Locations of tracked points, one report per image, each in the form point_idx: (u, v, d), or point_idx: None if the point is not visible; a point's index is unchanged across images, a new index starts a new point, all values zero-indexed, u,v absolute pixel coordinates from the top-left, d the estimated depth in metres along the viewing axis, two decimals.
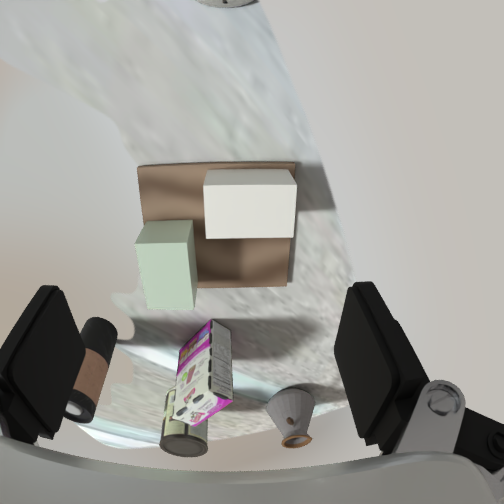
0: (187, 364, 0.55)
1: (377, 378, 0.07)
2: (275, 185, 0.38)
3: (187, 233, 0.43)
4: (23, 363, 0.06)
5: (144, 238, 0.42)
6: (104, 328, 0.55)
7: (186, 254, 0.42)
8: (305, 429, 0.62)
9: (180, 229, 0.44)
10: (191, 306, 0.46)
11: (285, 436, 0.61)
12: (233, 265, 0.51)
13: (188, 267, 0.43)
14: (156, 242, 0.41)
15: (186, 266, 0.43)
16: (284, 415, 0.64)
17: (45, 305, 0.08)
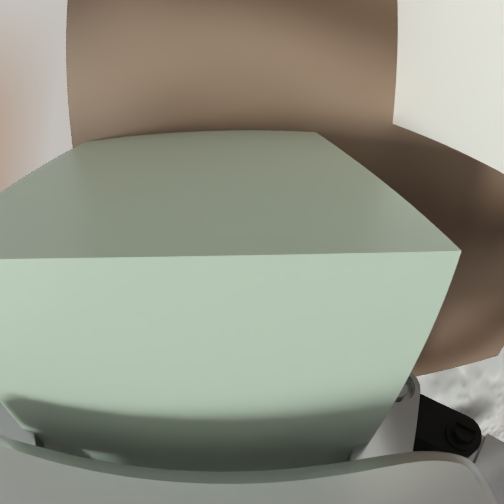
0: None
1: None
2: None
3: (363, 174, 0.05)
4: None
5: (6, 211, 0.04)
6: None
7: (405, 363, 0.04)
8: None
9: (289, 155, 0.06)
10: None
11: None
12: None
13: (368, 431, 0.05)
14: (75, 246, 0.03)
15: (360, 431, 0.05)
16: None
17: None
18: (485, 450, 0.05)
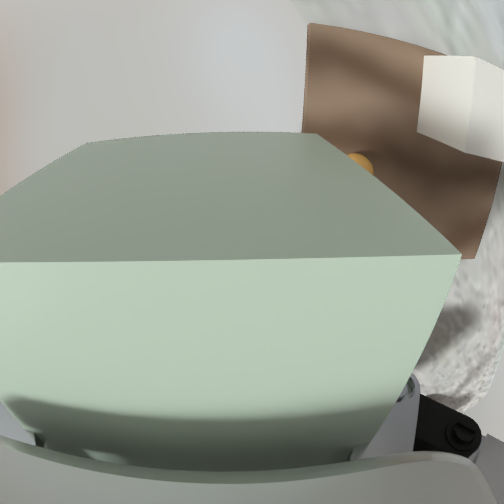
0: None
1: None
2: None
3: (364, 177, 0.05)
4: None
5: (8, 213, 0.04)
6: None
7: (405, 364, 0.04)
8: None
9: (290, 157, 0.06)
10: None
11: None
12: None
13: (369, 432, 0.05)
14: (79, 249, 0.03)
15: (361, 432, 0.05)
16: None
17: None
18: (485, 450, 0.05)
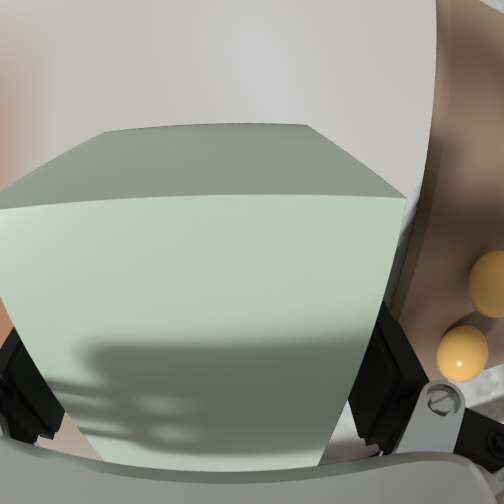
0: None
1: (377, 378, 0.07)
2: None
3: (340, 154, 0.06)
4: (23, 363, 0.06)
5: (50, 178, 0.05)
6: None
7: (373, 296, 0.05)
8: None
9: (281, 141, 0.07)
10: None
11: None
12: None
13: (351, 371, 0.06)
14: (120, 193, 0.04)
15: (343, 369, 0.06)
16: None
17: None
18: None
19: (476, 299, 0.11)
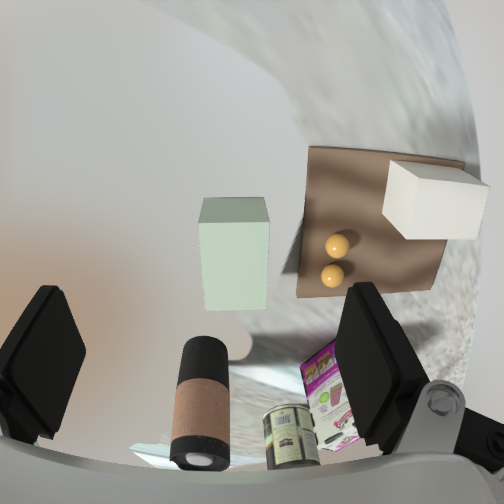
0: (323, 383, 0.46)
1: (377, 378, 0.07)
2: (475, 185, 0.30)
3: (265, 211, 0.34)
4: (23, 363, 0.06)
5: (209, 216, 0.33)
6: (218, 349, 0.47)
7: (267, 237, 0.33)
8: None
9: (253, 207, 0.35)
10: (263, 305, 0.37)
11: None
12: (391, 269, 0.43)
13: (267, 255, 0.34)
14: (228, 221, 0.32)
15: (265, 253, 0.34)
16: None
17: (45, 305, 0.08)
18: None
19: (326, 250, 0.39)
